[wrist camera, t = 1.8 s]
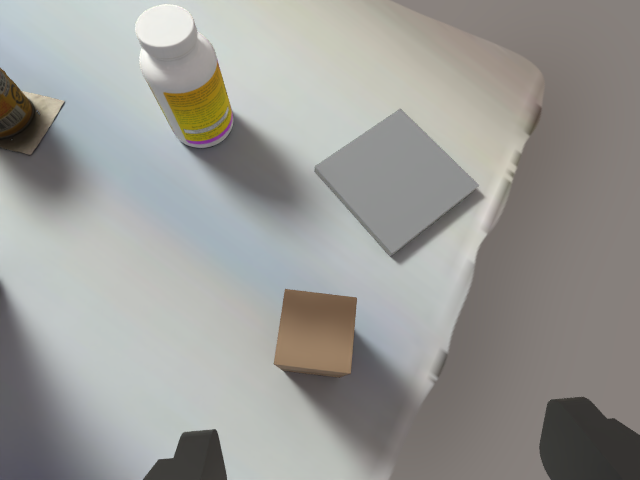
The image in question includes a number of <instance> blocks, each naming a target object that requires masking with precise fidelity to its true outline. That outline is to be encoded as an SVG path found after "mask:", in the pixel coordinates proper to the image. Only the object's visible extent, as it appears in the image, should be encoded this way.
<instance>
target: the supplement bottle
mask: <svg viewBox="0 0 640 480" xmlns="http://www.w3.org/2000/svg"><path fill="white" fill-rule="evenodd" d="M135 32H136V35H137V37H138V40H139V42H140V45H141V47H142V49H141V52H140V58H139V63H140V68H141V71H142V74H143V76H144V78H145V80H146V81H147V83H148V85H149V87H150V89H151V91H152V93H153V94H154V96H155V98H156V100H157V102H158V104H159V106H160V108H161V110H162V112H163V113H164V115H165V117H166V119H167V121H168V123H169V125H170V127H171V129H172V130H173V132H174V134H175V135H176V137H177V138H178V139H179V140H180V141H181V142H183V143H184V144H186V145H188V146H191V147H196V148H206V147H211V146H214V145H216V144H218V143H220V142H221V141H223V140H224V139H225V138H226V137H227V136H228V134H229V133H230V131H231V129H232V126H233V113H232V109H231V106H230V102H229V99H228V95H227V92H226V89H225V85H224V81H223V78H222V74H221V71H220V67H219V64H218V60H217V57H216V53H215V50H214V48H213V46H212V44H211V43H210V41H209V40H208V39H207V38H206V37H205V36H203V35H202V34H201V33H199V32H197V28H196V25H195V22H194V19H193V17H192V15H191V14H190V13H189V12H188V11H187V10H186V9H184V8H182V7H180V6H176V5H171V4H163V5H158V6H154V7H152V8H150V9H148V10H146V11H145V12H143V13H142V14H141V15H140V16H139V18H138V20H137V22H136V25H135Z"/></svg>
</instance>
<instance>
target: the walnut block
mask: <svg viewBox="0 0 640 480" xmlns="http://www.w3.org/2000/svg"><path fill="white" fill-rule="evenodd" d="M356 304H357V298H356V297H347V296H339V295H331V294H322V293H314V292H306V291H297V290H289V289H285V293H284V299H283V306H282V313H281V319H280V326H279V333H278V340H277V346H276V353H275V360H274V365H276V366H277V367H279V368H280V369H281V370H283V371H290V372H298V373H306V374H314V375H322V376H331V377H339V378H340V377H342V376H345V375H348V374H351V363H352V351H353V339H354V327H355V316H356Z"/></svg>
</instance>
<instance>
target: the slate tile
mask: <svg viewBox="0 0 640 480" xmlns="http://www.w3.org/2000/svg"><path fill="white" fill-rule="evenodd" d="M315 172H316V173H317V175H318V176H319V177H320V178H321V179H322V180H323V181H324V182H325V184H326V185H327V186H328V187H329V188H330V189H331V190H332V191H333V193H334V194H335V195H336V196H337V197H338V198H339V199H340V201H341V202H342V203H343V204H344V205H345V206H346V207H347V208H348V210H349V211H350V212H351V213H352V214H353V215H354V216H355V217H356V219H357V220H358V221H359V222H360V223H361V224H362V225H363V226H364V228H365V229H366V230H367V231H368V232H369V233H370V234H371V236H372V237H373V238H374V239H375V240H376V241H377V242H378V243H379V245H380V246H381V247H382V248H383V249H384V250H385V251H386V252H387V254H388V255H389V256H390V257H391V256H392V255H393V254H395V253H396V252H397V251H399V250H400V249H401V248H402V247H404V246H405V245H406V244H407V243H409V242H410V241H411V240H413V239H414V238H415V237H416V236H418V235H419V234H420V233H421V232H423V231H424V230H425V229H426V228H428V227H429V226H430V225H432V224H433V223H434V222H435V221H437V220H438V219H439V218H440V217H442V216H443V215H444V214H446V213H447V212H448V211H449V210H451V209H452V208H453V207H454V206H456V205H457V204H458V203H459V202H461V201H462V200H463V199H465V198H466V197H467V196H468V195H470V194H471V193H472V192H473V191H475V190H476V189H477V187H478V186H479V185H478V184H477V183H476V182H475V181H474V180H473V179H472V178H471V177H470V176H469V175H468V174H467V173H466V172H465V171H464V170H463V169H462V168H461V167H460V166H459V165H458V164H457V163H456V162H455V161H454V160H453V159H452V158H451V157H450V156H449V155H448V154H447V153H446V152H445V151H443V150H442V149H441V148H440V147H439V146H438V145H437V144H436V143H435V142H434V141H433V140H432V139H431V138H430V137H429V136H428V135H427V134H426V133H425V132H424V131H423V130H422V129H421V128H420V127H419V126H418V125H417V124H416V123H415V122H414V121H413V120H412V119H411V118H410V117H409V116H408V115H407V114H406V113H405V112H404V111H403V110H402V109H399V110H398V111H396V112H395V113H393V114H392V115H390V116H389V117H387V118H386V119H384V120H383V121H381V122H380V123H378V124H377V125H375V126H374V127H372V128H371V129H369V130H368V131H366V132H365V133H364V134H362V135H361V136H359V137H358V138H356V139H355V140H353V141H352V142H350V143H349V144H347V145H346V146H344V147H343V148H341V149H340V150H338V151H337V152H335V153H334V154H332V155H331V156H330V157H328V158H327V159H325V160H324V161H322V162H321V163H319V164H318V165H316V166H315Z"/></svg>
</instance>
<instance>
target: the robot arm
mask: <svg viewBox="0 0 640 480" xmlns="http://www.w3.org/2000/svg"><path fill="white" fill-rule="evenodd" d="M539 449H540V456H541V460H542V463H543V466H544V468H545V470H546V472H547V474H548V476H549V477H550V479H551V480H640V435H638V434H637V433H636V432H634V431H633V430H631V429H630V428H628V427H626V426H625V425H623V424H622V423H620V422H619V421H617V420H616V419H613V418H612V419H607V418H606V417H605V416H604V415H603V414H602V413H601V412H600V411H599V410H598V409H597V407H596V406H595V405H594V404H593V403H592V402H591V401H590V400H588V399H587V398H585V397H575V398H564V399H553V400H550V401H549V402H548V404H547V408H546V414H545V418H544V424H543V429H542V434H541V440H540V446H539ZM143 480H227V475H226V470H225V465H224V460H223V455H222V451H221V446H220V441H219V436H218V433H217V431H216V430H215V429H213V430H202V431H191V432H184V433H183V434H182V435H181V437H180V440H179V443H178V446H177V449H176V452H175V455H174V458H170V459H160V460H158V461H157V462H156V464H155V465H154V466H153V467H152V469H151V470H150V471H149V473H148V474H147V475H146V476H145V478H144V479H143Z"/></svg>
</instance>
